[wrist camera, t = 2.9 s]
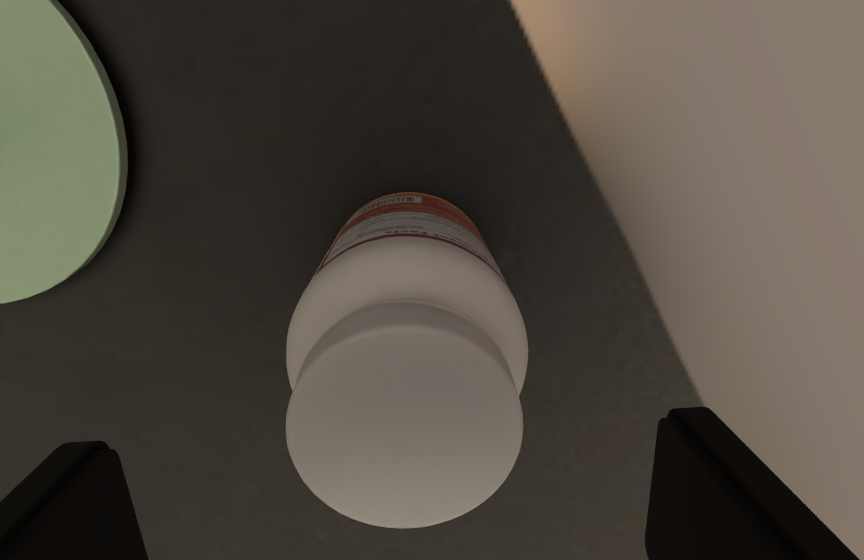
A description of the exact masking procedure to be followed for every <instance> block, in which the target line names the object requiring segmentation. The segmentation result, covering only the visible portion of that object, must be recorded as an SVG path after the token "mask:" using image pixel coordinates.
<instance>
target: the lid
mask: <svg viewBox="0 0 864 560" xmlns="http://www.w3.org/2000/svg"><path fill="white" fill-rule="evenodd" d="M127 173H128V155H127V141H126V135H125V129H124V123H123V118H122V115H121V111H120V108H119V104H118V101H117V98H116V94H115V92H114V89H113V87H112V85H111V82H110V80H109V78H108V75H107V73H106V71H105V68H104V66H103V65H102V63H101V61H100V59H99V57H98V56H97V54H96V52H95V50H94V48H93V47H92V45H91V43H90V42H89V40H88V39H87V37H86V36H85V35H84V33H83V32H82V30H81V29H80V27H79V26H78V25H77V23H76V22H75V20H74V19H73V18H72V16H71V15H70V14H69V13H68V12H67V11H66V10H65V8H64V7H63V6H62V5H61V4H60V3H59V2H58V0H0V304H1V303H9V302H13V301H17V300H21V299H25V298H29V297H32V296H34V295H37V294H39V293H42V292H44V291H47V290H49V289H51V288H53V287H55V286H57V285H58V284H60V283H62V282H63V281H65V280H67V279H69V278H70V277H72V276H74V275H75V274H76V273H77V272H78V271H80V270H81V269H82V268H83V267H84V266H86V265H87V264H88V263H89V262H90V261H91V260H92V259H93V258H94V256H95V255H96V254H97V253H98V252H99V251H100V250H101V248H102V247H103V245H104V244H105V242H106V240H107V239H108V237H109V236H110V234H111V232H112V231H113V228H114V226H115V224H116V221H117V219H118V216H119V214H120V212H121V208H122V204H123V200H124V196H125V192H126V183H127Z"/></svg>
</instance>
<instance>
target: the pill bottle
mask: <svg viewBox="0 0 864 560" xmlns="http://www.w3.org/2000/svg"><path fill="white" fill-rule="evenodd" d="M527 362H528V342H527V334H526V329H525V325H524V322H523V319H522V316H521V313H520V311H519V308H518V306H517V303H516V301H515V299H514V297H513V295H512V293H511V291H510V289H509V287H508V285H507V283H506V281H505V279H504V278H503V276H502V274H501V272H500V270H499V268H498V266H497V264H496V262H495V260H494V259H493V257H492V255H491V253H490V251H489V249H488V247H487V245H486V243H485V241H484V239H483V237H482V235H481V234H480V232H479V231H478V229H477V228H476V226H475V225H474V224H473V222H472V221H471V220H470V219H469V218H468V217H467V216H466V215H465V214H464V213H463V212H462V211H461V210H460V209H458V208H457V207H456V206H454V205H453V204H451V203H449V202H447V201H445V200H443V199H441V198H438V197H435V196H432V195H429V194H424V193H416V192H401V193H394V194H390V195H386V196H382V197H380V198H377V199H375V200H373V201H371V202H369V203H368V204H366V205H364V206H363V207H362V208H360V209H359V210H358V211H357V212H355V213H354V214H353V215H352V216H351V217H350V219H349V220H348V221H347V222H346V223H345V225H344V226H343V227H342V229H341V230H340V232H339V234H338V235H337V237H336V239H335V241H334V242H333V244H332V246H331V247H330V249H329V251H328V252H327V254H326V255H325V257H324V259H323V261H322V262H321V264H320V266H319V268H318V269H317V271H316V273H315V274H314V276H313V278H312V280H311V281H310V283H309V285H308V286H307V287H306V289H305V291H304V292H303V294H302V296H301V298H300V300H299V302H298V304H297V306H296V309H295V311H294V313H293V316H292V319H291V322H290V325H289V330H288V335H287V350H286V363H287V371H288V377H289V382H290V385H291V388H292V391H293V392H292V395H291V397H290V401H289V405H288V409H287V416H286V439H287V446H288V450H289V453H290V456H291V459H292V461H293V464H294V466H295V468H296V469H297V471H298V473H299V475H300V476H301V478H302V480H303V481H304V482H305V484H306V485H307V486H308V487H309V489H310V490H311V491H312V492H313V493H314V494H315V495H316V496H317V497H318V498H320V499H321V500H322V501H323V502H325V503H326V504H327V505H328V506H330V507H331V508H333V509H334V510H336V511H337V512H339V513H341V514H343V515H346V516H348V517H350V518H352V519H355V520H357V521H360V522H363V523H367V524H370V525H375V526H381V527H388V528H417V527H426V526H431V525H435V524H438V523H442V522H445V521H448V520H451V519H453V518H456V517H458V516H461V515H463V514H465V513H467V512H469V511H470V510H472V509H474V508H475V507H477V506H478V505H480V504H481V503H483V502H484V501H485V500H486V499H488V498H489V497H490V496H491V495H492V494H493V493H494V492H495V491H496V490H497V489H498V488H499V487H500V485H501V484H502V483H503V482H504V481H505V479H506V478H507V476H508V474H509V473H510V471H511V469H512V468H513V466H514V463H515V461H516V459H517V456H518V454H519V450H520V446H521V442H522V435H523V416H522V408H521V403H520V400H519V395H520V392H521V389H522V387H523V383H524V379H525V375H526V370H527Z"/></svg>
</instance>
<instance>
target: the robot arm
mask: <svg viewBox="0 0 864 560" xmlns="http://www.w3.org/2000/svg"><path fill="white" fill-rule="evenodd" d="M645 547H646V552H647V555H648V558H649V560H859V559H858V558H857V557H856V556H855V555H854V554H853V553H852V552H851V551H850V550H849V549H848V548H847V547H846V546H845V545H844V544H843V543H842V541H840V539H839V538H838V537H837V536H836V535H835V534H834V533H833V532H832V531H830V529H829V528H828V527H827V526H826V525H825V524H823V522H822V521H820V519H819V518H818V517H817V516H816V515H815V514H814V513H813V512H812V511H811V510H810V509H809V508H808V507H807V506H806V505H805V504H804V503H803V502H802V501H801V500H800V499H799V498H798V497H797V496H796V495H795V494H794V493H793V492H792V491H791V490H790V489H789V488H788V487H787V486H786V485H785V484H784V483H783V482H782V481H781V480H780V479H779V478H778V477H777V476H776V475H775V474H774V473H773V472H772V471H771V470H770V469H769V468H768V467H767V466H766V465H765V464H764V463H763V462H762V461H761V460H760V459H759V458H758V457H757V456H756V455H755V454H754V453H753V452H752V451H751V450H750V449H749V448H748V447H747V446H746V445H745V444H744V443H743V442H742V441H741V440H740V439H739V438H738V437H737V436H736V435H735V434H734V433H733V432H732V431H731V430H730V429H729V428H728V427H727V426H726V425H725V424H724V422H723V421H722V420H720V418H718V417H717V415H716V414H715V413H714V412H712V411H711V410H710V409H709V408H707V407H693V408H675V409H672V410H670V411H669V413H668V415H667V418H662V419H660V421H659V424H658V430H657V439H656V447H655V456H654V464H653V473H652V482H651V490H650V499H649V507H648V516H647V524H646V533H645ZM0 560H148V556H147V553H146V549H145V546H144V542H143V539H142V535H141V532H140V528H139V525H138V521H137V518H136V514H135V511H134V507H133V504H132V500H131V497H130V493H129V490H128V486H127V483H126V479H125V476H124V472H123V469H122V465H121V462H120V458H119V455H118V453H117V452H116V451H115V450H113V449H109V446H108V445H107V444H106V443H105V442H103V441H87V442H69V443H64V444H62V445H61V446H59V447H58V448H57V449H55V450H54V451H53V452H52V453H51V454H50V455H49V456H48V457H47V458H46V459H45V460H44V461H43V462H42V463H41V464H40V465H39V466H38V467H37V468H35V469H34V470H33V471H32V472H31V473H30V474H29V475H28V476H27V477H26V478H25V479H24V480H23V481H22V482H21V483H20V484H19V485H18V486H17V487H15V488H14V489H13V490H12V491H11V492H10V493H9V494H8V495H7V496H6V497H5V498H4V499H3V500H2V501H1V502H0Z"/></svg>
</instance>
